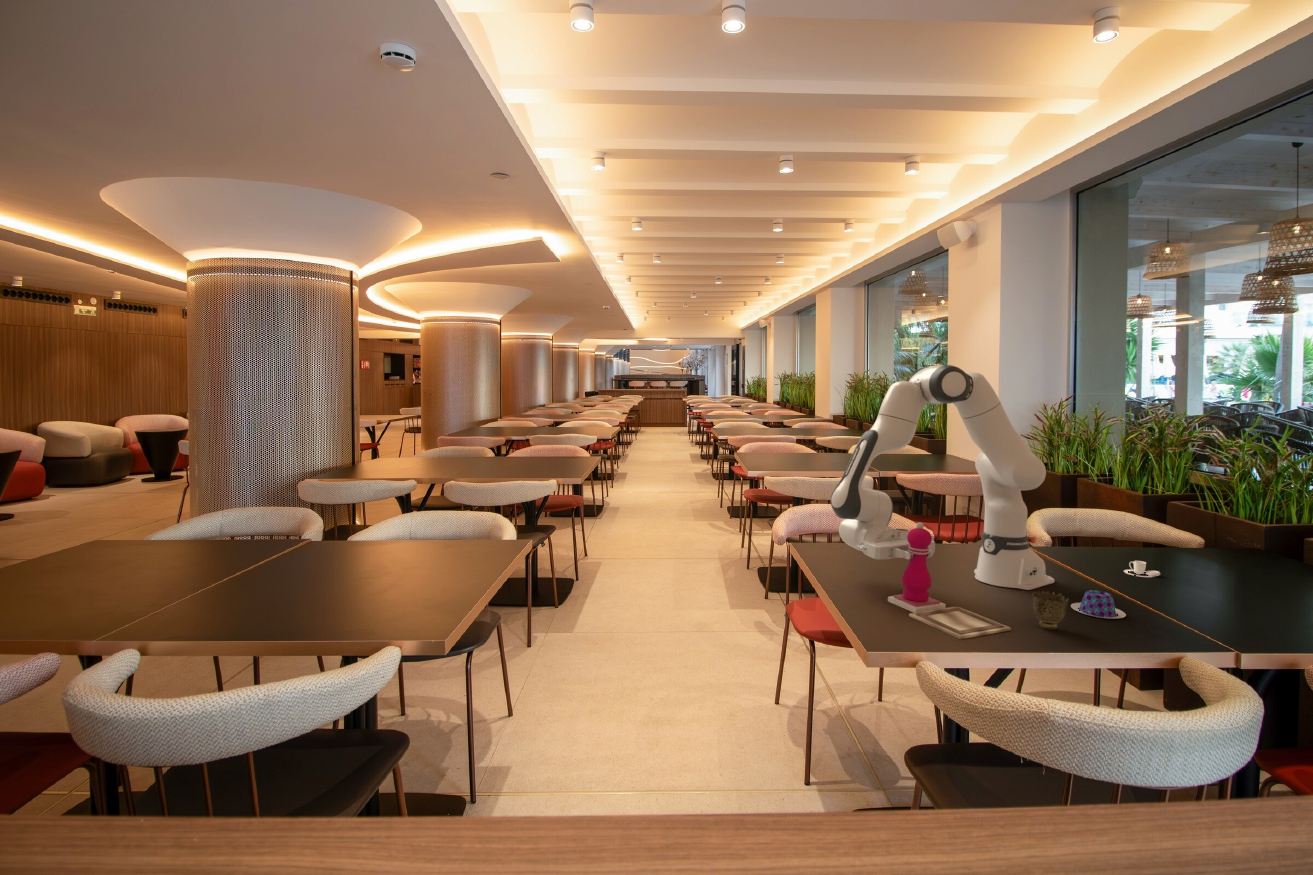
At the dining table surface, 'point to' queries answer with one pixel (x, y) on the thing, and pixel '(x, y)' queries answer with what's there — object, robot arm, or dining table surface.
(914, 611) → the ink pad
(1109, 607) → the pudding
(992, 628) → the board
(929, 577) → the pepper mill
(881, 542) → the robot arm
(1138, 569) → the teacup and saucer
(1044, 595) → the cup
